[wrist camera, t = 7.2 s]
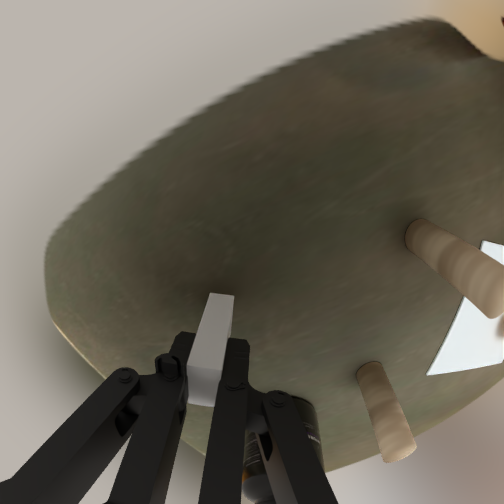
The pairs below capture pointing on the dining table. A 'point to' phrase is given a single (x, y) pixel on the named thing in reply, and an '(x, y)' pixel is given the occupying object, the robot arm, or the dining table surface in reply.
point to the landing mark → (472, 333)
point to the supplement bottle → (253, 465)
